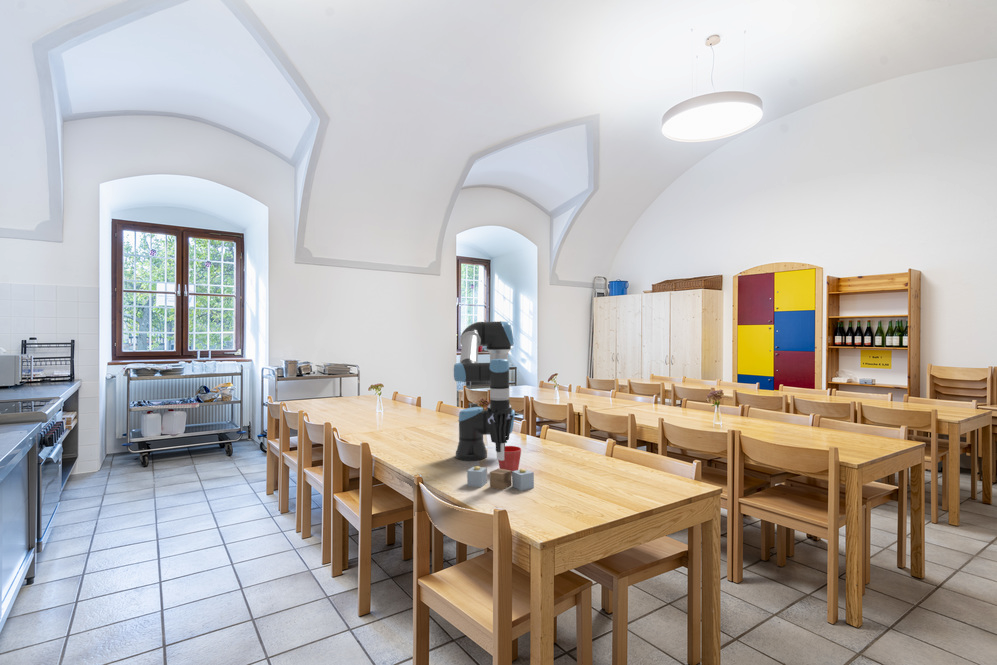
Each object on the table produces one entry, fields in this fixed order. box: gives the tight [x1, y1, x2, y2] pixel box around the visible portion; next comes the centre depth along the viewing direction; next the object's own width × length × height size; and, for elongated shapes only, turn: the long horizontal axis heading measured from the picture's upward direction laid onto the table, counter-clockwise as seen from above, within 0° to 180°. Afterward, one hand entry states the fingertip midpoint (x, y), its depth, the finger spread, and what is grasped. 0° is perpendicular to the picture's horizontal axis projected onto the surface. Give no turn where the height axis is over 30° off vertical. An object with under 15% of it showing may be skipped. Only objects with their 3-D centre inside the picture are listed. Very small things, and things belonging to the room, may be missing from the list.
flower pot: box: [497, 445, 522, 474], centre depth 216 cm, size 11×11×10 cm
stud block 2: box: [511, 468, 535, 492], centre depth 193 cm, size 6×6×7 cm
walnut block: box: [489, 468, 512, 491], centre depth 194 cm, size 6×6×6 cm
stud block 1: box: [466, 465, 488, 488], centre depth 198 cm, size 6×6×7 cm
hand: (500, 459), depth 194 cm, fingers closed
